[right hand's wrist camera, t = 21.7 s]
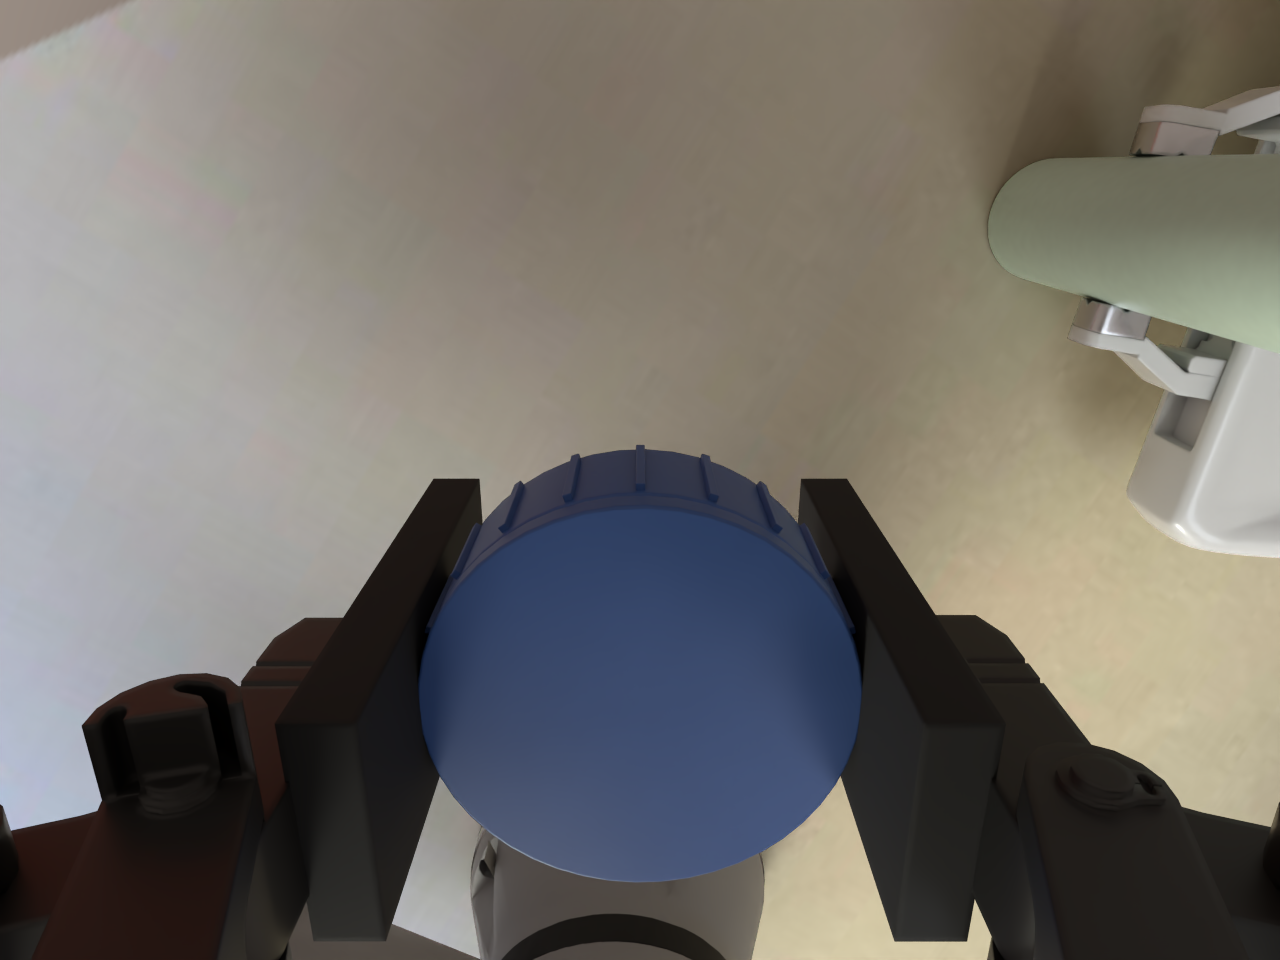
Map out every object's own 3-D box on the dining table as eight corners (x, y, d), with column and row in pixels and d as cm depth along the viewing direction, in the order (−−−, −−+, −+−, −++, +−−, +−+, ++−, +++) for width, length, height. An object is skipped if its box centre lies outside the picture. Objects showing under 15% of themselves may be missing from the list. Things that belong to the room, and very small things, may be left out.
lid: (875, 476, 11) (921, 539, 9) (785, 803, 13) (810, 909, 11) (465, 415, 11) (429, 467, 9) (433, 757, 13) (398, 859, 11)
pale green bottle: (968, 263, 35) (1327, 367, 17) (1015, 143, 33) (1469, 116, 15) (1074, 294, 35) (1536, 428, 17) (1126, 177, 34) (1694, 189, 16)
